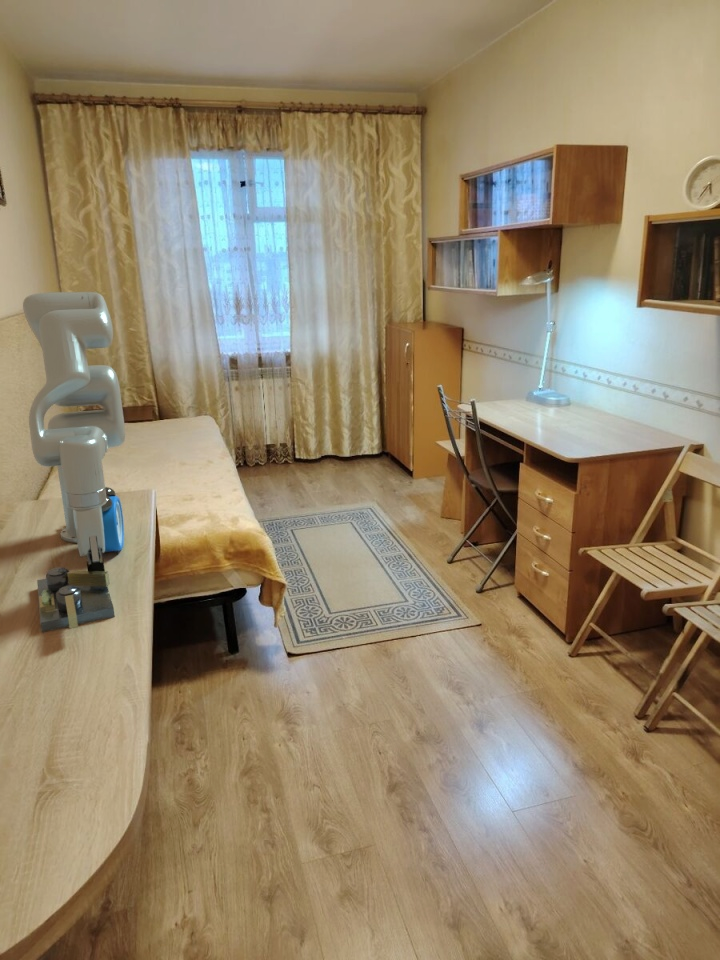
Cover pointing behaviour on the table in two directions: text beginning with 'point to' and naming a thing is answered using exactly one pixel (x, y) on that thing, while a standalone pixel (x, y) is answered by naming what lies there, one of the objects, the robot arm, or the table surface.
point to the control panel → (92, 609)
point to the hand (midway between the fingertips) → (97, 578)
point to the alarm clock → (113, 522)
